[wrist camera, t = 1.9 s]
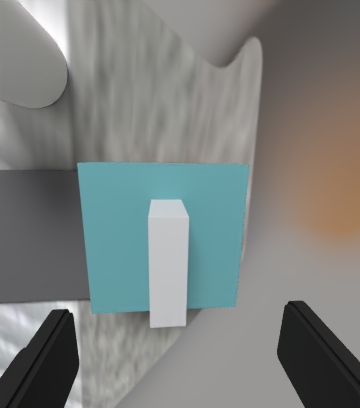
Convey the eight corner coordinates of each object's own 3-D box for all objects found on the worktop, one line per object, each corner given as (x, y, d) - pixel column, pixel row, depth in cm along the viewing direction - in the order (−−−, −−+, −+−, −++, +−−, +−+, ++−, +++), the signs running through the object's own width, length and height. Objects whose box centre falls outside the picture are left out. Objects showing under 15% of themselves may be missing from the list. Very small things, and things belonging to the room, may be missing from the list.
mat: (95, 294, 29) (93, 298, 28) (-39, 300, 28) (-45, 304, 27) (84, 170, 25) (81, 171, 24) (-74, 169, 24) (-82, 169, 23)
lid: (226, 287, 24) (258, 352, 16) (100, 292, 23) (69, 366, 15) (236, 163, 21) (282, 170, 13) (89, 161, 19) (42, 168, 12)
